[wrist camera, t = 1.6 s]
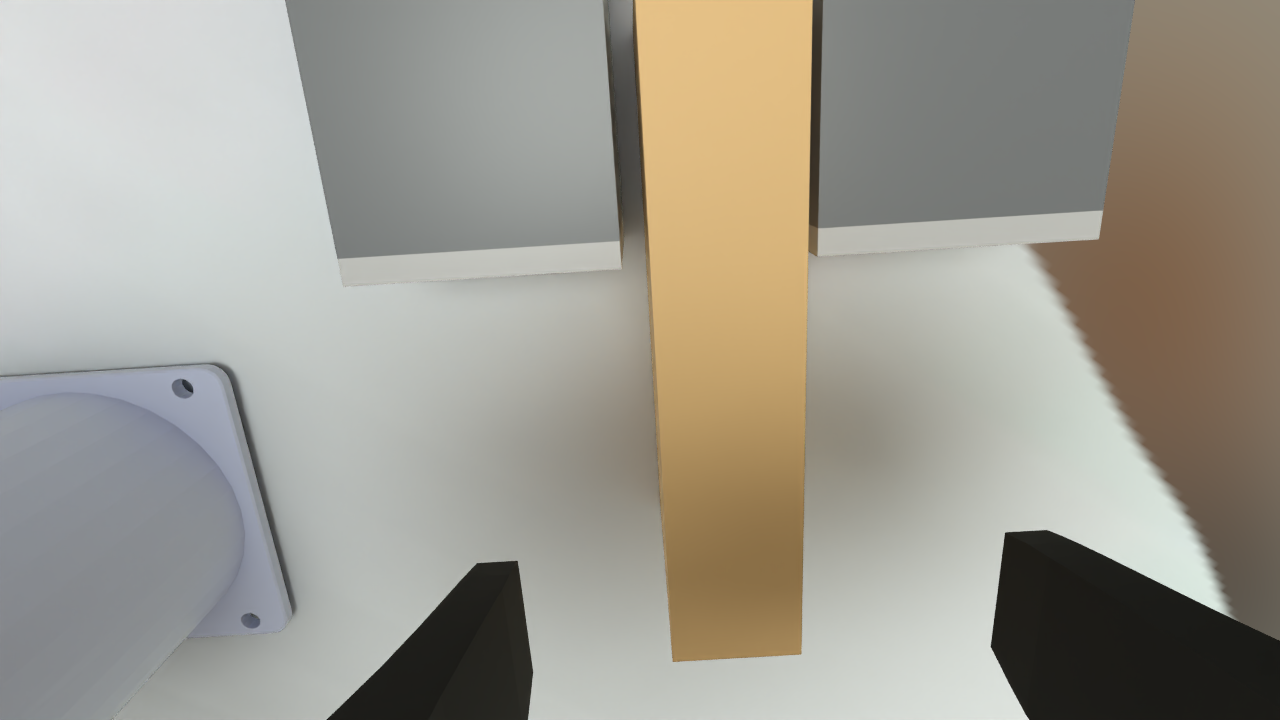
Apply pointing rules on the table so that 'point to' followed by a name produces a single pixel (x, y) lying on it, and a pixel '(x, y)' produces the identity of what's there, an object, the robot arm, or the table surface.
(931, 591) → the table surface
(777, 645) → the tan rectangular block
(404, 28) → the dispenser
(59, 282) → the table surface
